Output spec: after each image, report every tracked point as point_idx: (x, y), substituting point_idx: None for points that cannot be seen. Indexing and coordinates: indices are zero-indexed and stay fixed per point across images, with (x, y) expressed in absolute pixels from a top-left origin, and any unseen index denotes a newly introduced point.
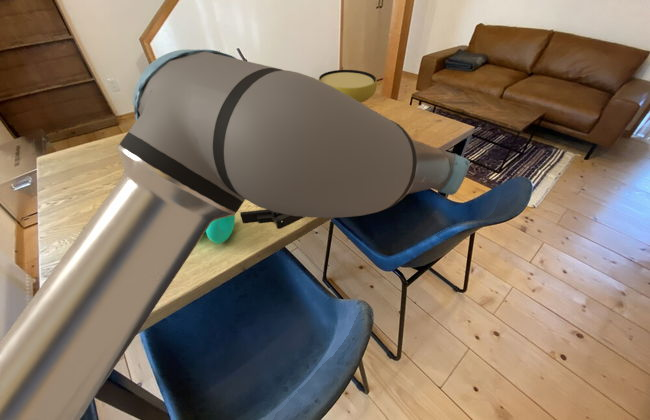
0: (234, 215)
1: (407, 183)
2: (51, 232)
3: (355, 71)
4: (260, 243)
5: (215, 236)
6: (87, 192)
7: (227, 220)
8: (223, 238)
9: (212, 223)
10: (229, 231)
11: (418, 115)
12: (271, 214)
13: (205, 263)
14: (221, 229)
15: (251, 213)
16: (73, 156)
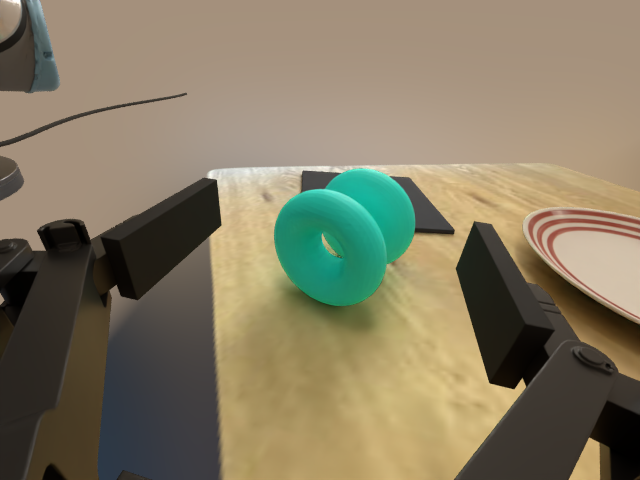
0: (360, 288)
1: None
2: (404, 167)
3: None
4: (240, 370)
5: (274, 234)
6: (488, 180)
7: (340, 270)
8: (286, 267)
9: (287, 202)
10: (315, 287)
11: None
12: (100, 249)
13: (255, 257)
14: (314, 261)
15: (177, 194)
16: (576, 175)
